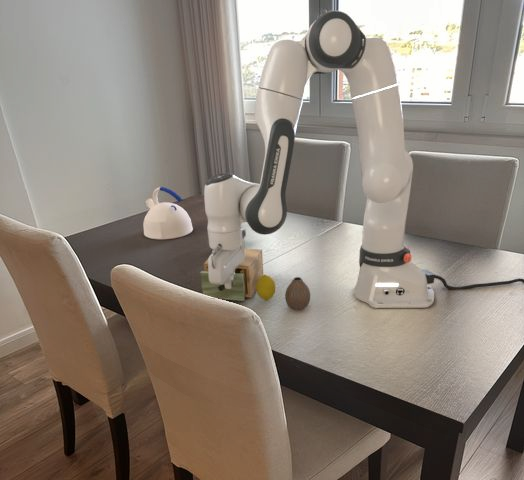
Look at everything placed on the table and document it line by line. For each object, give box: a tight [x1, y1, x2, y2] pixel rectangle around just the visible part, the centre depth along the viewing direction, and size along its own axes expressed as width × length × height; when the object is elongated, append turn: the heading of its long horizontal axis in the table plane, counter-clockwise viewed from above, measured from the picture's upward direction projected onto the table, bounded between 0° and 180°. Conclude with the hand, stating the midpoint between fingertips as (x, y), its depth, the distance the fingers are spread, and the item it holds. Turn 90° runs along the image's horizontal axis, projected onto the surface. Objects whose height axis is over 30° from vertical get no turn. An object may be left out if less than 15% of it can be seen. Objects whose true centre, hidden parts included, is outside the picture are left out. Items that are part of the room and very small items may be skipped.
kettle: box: [142, 186, 194, 241], centre depth 198 cm, size 20×21×18 cm
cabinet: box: [203, 248, 264, 298], centre depth 149 cm, size 14×14×10 cm
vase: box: [284, 276, 311, 312], centre depth 134 cm, size 7×7×9 cm
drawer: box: [199, 268, 248, 302], centre depth 144 cm, size 14×13×8 cm
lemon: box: [255, 274, 276, 302], centre depth 140 cm, size 6×6×8 cm
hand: (229, 286), depth 136 cm, fingers closed
